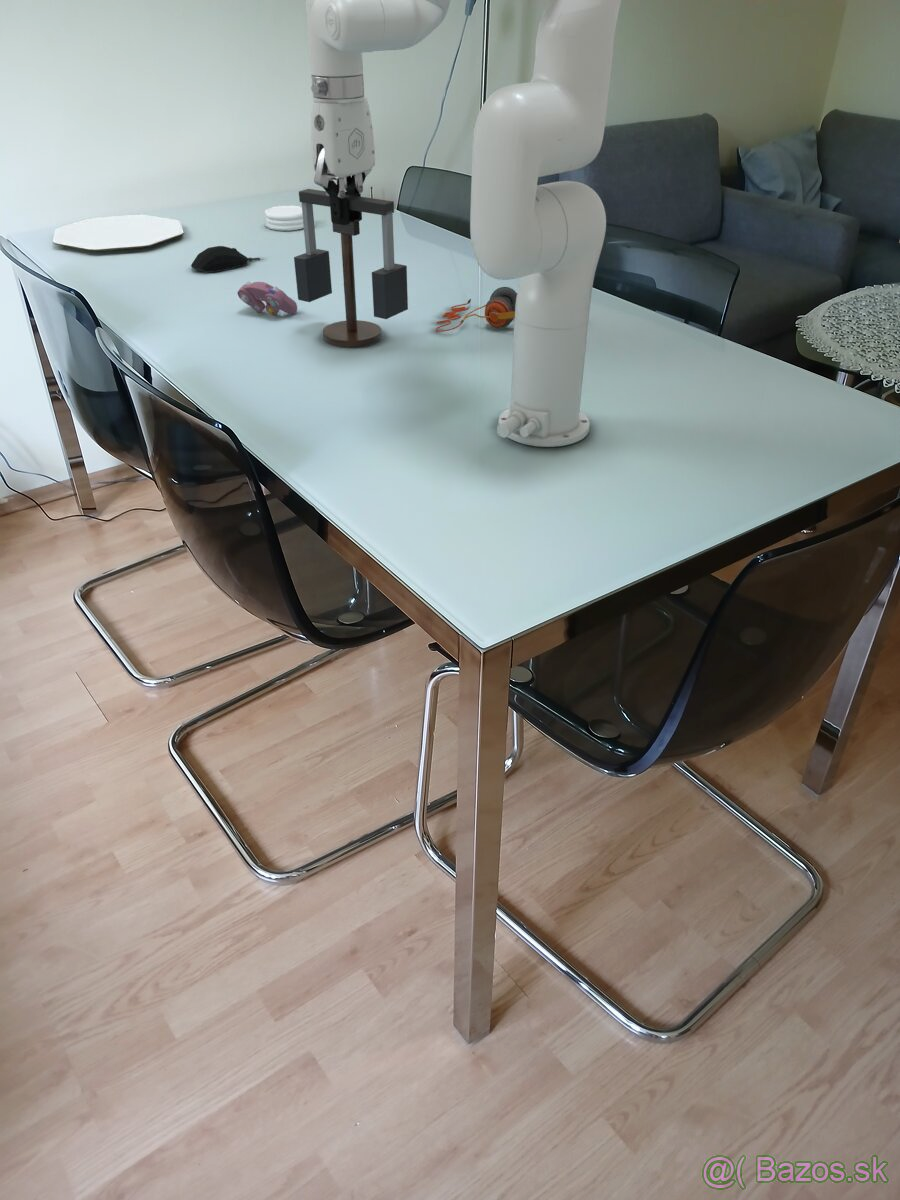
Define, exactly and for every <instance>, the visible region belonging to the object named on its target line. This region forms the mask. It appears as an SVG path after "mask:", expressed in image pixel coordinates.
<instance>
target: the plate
mask: <svg viewBox="0 0 900 1200" xmlns="http://www.w3.org/2000/svg"><path fill="white" fill-rule="evenodd" d="M184 234H185V233H184V229H183V225H182V222H181V220H179V219H175V218H169V217H161V216H155V215H150V214H149V215H148V214H127V215H126V214H125V215H111V216H98V217H97V216H96V217H90V218H87V219H84V220H79V221H75V222H73V223H70V224H66V225H63V226H60V227H59V226H58V227H57V228H55V229H54V230H53V237H52V243H53V244H54V245H57V246H61V247H67V248H72V249H76V250H77V249H78V250H82V251H89V252H100V251H101V252H102V251H115V250H128V249H140V248H141V249H142V248H149V247H153V246H156V245H158V244H162V243H164V242H168V241H169V240H172V239H175V238H176V239H177V238H178V237H181V236H182V235H184Z"/></svg>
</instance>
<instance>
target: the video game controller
mask: <svg viewBox="0 0 900 1200" xmlns="http://www.w3.org/2000/svg"><path fill="white" fill-rule="evenodd" d="M237 296H238V298H239V299H240V300H241V301H242V302H243V303H245V304H246V305H247V306H249V307H251V308H252V310H253V311H255V312H256V313H258V314H261V313H264V310H266V312H267V313H268V314H269V315H270V316H274V317H275V316H278V314H279V312H280V311H282V312H284V313H285V314H289V315H294V314H296V313H298V304H297V302H296V301H295V300H294V299H292V298H291V297H290V296H288V295H287V293H286V292H284V291H283V290H282V289H280V288H279V287H278V286H273V285H271V284H268V283H267V282H265V281H254V282H250V281H246V283H245V284H243V285H242V286H241V287H240V288H239V289H238V291H237Z"/></svg>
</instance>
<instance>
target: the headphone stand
mask: <svg viewBox="0 0 900 1200" xmlns="http://www.w3.org/2000/svg"><path fill="white" fill-rule="evenodd" d="M331 223H332V222H331ZM331 225H332V232H333V233H337V234H340V244H341V259H342V260H341V261H342V275H343V276H342V277H343V278H342V279H343V293H344V295H343V296H344V308H345V320H340V321H336V322H332V323H329V324H328V325H326V326H324V328H322V331H321V332H322V340H323V341H324V342H325V343H326V344H328V345H330V346H333V347H337V348H347V349H351V348H352V349H353V348H354V349H355V348H363V347H369V346H373V345H374V344H377V343H378V342H380V341H381V340H382V337H383V330H382V328H381V326H380V325H379V324H377V323H375V322H372V321H367V320H360V319H359V320H358V317H357V316H358V315H357V299H356V297H357V296H356V280H355V262H354V261H355V260H354V247H353V246H354V245H353V244H354V243H353V237H355V236H358V235H360V234H361V230H360V221H359V219H355V218H349V224H348V225H340V224H334V223H332V224H331Z"/></svg>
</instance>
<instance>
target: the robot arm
mask: <svg viewBox="0 0 900 1200" xmlns="http://www.w3.org/2000/svg"><path fill="white" fill-rule="evenodd" d="M450 3H451V0H305V13H306V15H305V16H306V27H307V28H306V29H307V38H308V52H309V63H310V76H311V77H310V78H311V79H310V80H311V87H310V88H311V92H312V102H311V114H310V140H311V141H310V143H311V158H312V159H311V160H312V165H313V170H314V178H313V182H314V184H316V185H318V186H319V187H321V188H322V189H323V190H324V191H326V194H327V196H329V197H330V207H329V208H330V209H329V210H330V221H331V223H334V224H340V225H348V224H349V218H355V219H359V222H360V221H362V220H363V212H359V211H353V210H349V209H348V198H347V197H345V194H347V195H354V196H360V197H362V193H363V191H364V183H365V180H366V177H367V176H368V175H369V174H370V173H371V171H372V170H373V168H374V167H375V166H376V164H375V163H376V151H375V150H376V148H375V137H374V128H373V121H372V115H371V110H370V106H369V105H370V104H369V101H368V97H366V96H365V84H364V83H365V82H364V63H363V53H364V54H365V53H373V52H381V51H385V52H386V51H401V50H405V49H409V48H412V47H414V46H415V45H417V44H419V43H420V42H422V41H423V40H424V39H425V38H427V37H428V36H429V35H430V34H431V33H432V32H434V31H435V30H436V29H437V28H438V27H439V26H440V25H441V24H442V22H443V21H444V19H445V18H446V16H447V14H448V10H449V7H450ZM621 4H622V0H548V2H547V4H546V6H545V8H544V10H543V12H542V16H541V18H540V21H539V24H538V27H537V33H536V37H535V51H534V52H535V55H534V65H533V72H532V77H531V80H530V81H528V82H520V83H513V84H508V85H505V86H503V87H500V88H498V89H497V90H495V91H494V92H492V93H491V94H490V95H489V96H488V97H487V98H486V100H485V101H484V103H483V105H482V106H481V107H480V110H479V112H478V115H477V117H476V121H475V124H474V129H473V136H472V149H471V154H472V155H471V181H470V182H471V183H470V184H471V185H470V212H469V214H470V215H469V216H470V217H469V223H470V224H469V232H470V242H471V243H470V244H471V248H472V252H473V256H474V258H475V261H476V263H477V265H478V266H479V268H480V269H481V271H482V272H483V273H485V274H486V275H487V276H488V277H490V278H493V279H495V280H498V281H499V280H501V281H509V280H515V279H519V278H520V281H519V285H518V289H517V291H516V293H517V297H516V305H515V318H514V324H513V344H512V345H513V346H512V364H511V365H512V366H511V384H510V385H511V386H510V388H511V389H510V405H509V407H507V408H505V409H504V410H502V412H501V413H500V414H499V416H498V424H497V426H496V432H497V435H498V436H499V437H501V438H503V439H505V438H507V439H510V440H512V441H514V442H516V443H519V444H522V445H526V446H531V447H540V448H557V447H564V446H569V445H572V444H575V443H578V442H580V441H582V440H584V438H585V437H586V436H588V434H589V432H590V425H591V423H590V422H591V421H590V419H589V417H588V416H587V415H586V414H585V413H584V412H582V411H581V402H582V391H583V382H584V381H583V380H584V373H585V372H584V369H585V362H586V361H585V359H586V351H587V350H586V348H587V339H588V330H589V321H590V320H589V319H590V311H591V302H592V295H593V293H592V292H593V286H594V281H595V276H596V271H597V267H598V263H599V260H600V257H601V253H602V249H603V246H604V241H605V236H606V231H607V215H606V214H607V213H606V209H605V207H604V203H603V202H602V199H601V197H600V196H599V194H598V192H597V191H595V190H594V189H593V188H592V187H590V186H589V185H587V184H585V183H582V182H579V181H576V180H575V181H574V180H560V181H554V182H548V183H544V184H538V182H539V181H538V180H539V178H542V177H547V176H551V175H557V174H562V173H566V172H570V171H571V172H572V171H575V170H578V169H581V168H584V167H586V166H587V165H589V164H591V163H592V162H593V161H594V160H595V159H596V158H597V156H598V154H599V153H600V151H601V148H602V145H603V140H604V135H605V129H606V121H607V120H606V119H607V113H608V112H607V111H608V110H607V109H608V104H609V103H608V102H609V93H610V84H611V76H612V67H613V57H614V44H615V37H616V36H615V35H616V29H617V24H618V17H619V12H620V9H621V8H620V7H621ZM335 181H336V182H335Z"/></svg>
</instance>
